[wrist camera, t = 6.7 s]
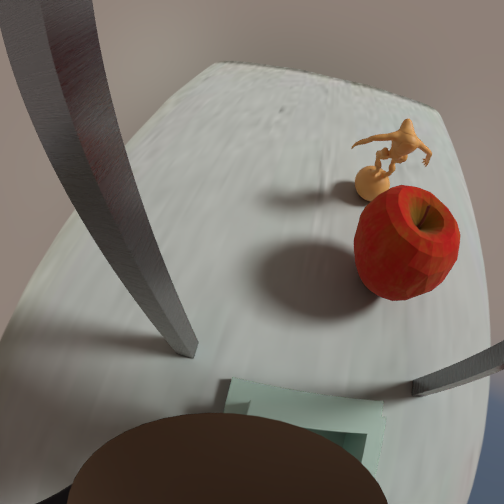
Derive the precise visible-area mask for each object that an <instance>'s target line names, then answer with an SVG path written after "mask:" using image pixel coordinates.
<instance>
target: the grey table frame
mask: <svg viewBox="0 0 504 504" xmlns="http://www.w3.org/2000/svg"><path fill="white" fill-rule="evenodd" d="M0 28H1V32H2V36H3V40H4V44H5V47H6V50H7V54H8V57H9V61H10V64H11V67H12V70H13V73H14V76H15V79H16V82H17V84H18V87H19V90H20V93H21V95H22V98H23V100H24V103H25V106H26V108H27V111H28V113H29V115H30V118H31V120H32V123H33V125H34V127H35V130H36V132H37V134H38V137H39V139H40V141H41V143H42V145H43V147H44V149H45V152H46V154H47V156H48V158H49V160H50V162H51V164H52V166H53V168H54V170H55V172H56V174H57V176H58V178H59V180H60V181H61V183H62V185H63V187H64V189H65V191H66V193H67V195H68V196H69V198H70V200H71V202H72V204H73V205H74V207H75V209H76V211H77V212H78V214H79V216H80V218H81V219H82V221H83V223H84V224H85V226H86V228H87V229H88V231H89V233H90V234H91V236H92V237H93V239H94V241H95V242H96V244H97V245H98V247H99V248H100V250H101V252H102V253H103V255H104V256H105V258H106V259H107V261H108V262H109V264H110V265H111V267H112V268H113V270H114V271H115V273H116V274H117V276H118V277H119V278H120V280H121V281H122V283H123V284H124V286H125V287H126V288H127V290H128V291H129V293H130V294H131V295H132V297H133V298H134V300H135V301H136V302H137V304H138V305H139V306H140V308H141V309H142V310H143V312H144V313H145V314H146V316H147V317H148V318H149V320H150V321H151V322H152V323H153V325H154V326H155V327H156V329H157V330H158V331H159V332H160V334H161V335H162V336H163V337H164V339H165V340H166V341H167V342H168V343H169V345H170V346H171V347H172V348H173V349H174V351H175V352H176V353H177V354H180V355H183V356H187V357H190V358H194V356H195V353H196V349H197V346H198V343H199V342H198V340H197V338H196V336H195V333H194V331H193V329H192V327H191V325H190V322H189V320H188V318H187V316H186V313H185V311H184V309H183V306H182V304H181V302H180V299H179V297H178V295H177V292H176V290H175V288H174V285H173V283H172V280H171V278H170V275H169V273H168V270H167V268H166V265H165V263H164V260H163V258H162V255H161V253H160V250H159V247H158V245H157V242H156V239H155V237H154V234H153V231H152V229H151V226H150V223H149V220H148V217H147V215H146V212H145V209H144V206H143V203H142V200H141V197H140V194H139V191H138V188H137V185H136V182H135V179H134V176H133V173H132V170H131V166H130V163H129V160H128V157H127V153H126V150H125V147H124V143H123V140H122V136H121V134H120V129H119V126H118V122H117V118H116V114H115V111H114V107H113V103H112V99H111V95H110V91H109V87H108V82H107V78H106V73H105V70H104V64H103V60H102V55H101V50H100V45H99V39H98V34H97V29H96V22H95V17H94V10H93V3H92V0H0ZM501 370H504V340H503V341H502V342H500V343H498V344H496V345H494V346H492V347H490V348H488V349H486V350H484V351H482V352H480V353H478V354H476V355H473V356H471V357H469V358H467V359H465V360H462V361H460V362H458V363H456V364H453V365H451V366H449V367H446V368H444V369H441V370H439V371H436V372H434V373H431V374H429V375H426V376H423V377H421V378H418V379H415V380H413V392H412V395H415V396H426V395H430V394H434V393H437V392H441V391H444V390H448V389H451V388H454V387H457V386H460V385H463V384H466V383H469V382H472V381H475V380H478V379H481V378H483V377H486V376H489V375H491V374H494V373H496V372H499V371H501Z"/></svg>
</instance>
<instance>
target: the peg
mask: <svg viewBox="0 0 504 504" xmlns="http://www.w3.org/2000/svg"><path fill="white" fill-rule="evenodd" d="M67 504H388V503H387V500H386V497H385V495H384V493H383V491H382V489H381V487H380V485H379V484H378V482H377V481H376V480H375V478H374V477H373V476H372V474H371V473H370V472H369V470H368V469H367V468H366V467H365V466H364V465H363V464H362V463H361V462H360V461H359V460H358V459H357V458H355V457H354V456H353V455H351V454H350V453H349V452H347V451H346V450H345V449H343V448H342V447H341V446H339V445H337V444H335V443H334V442H332V441H330V440H328V439H327V438H325V437H323V436H321V435H319V434H316V433H314V432H312V431H309V430H307V429H305V428H302V427H299V426H296V425H292V424H289V423H286V422H283V421H279V420H274V419H269V418H265V417H260V416H253V415H244V414H236V413H200V414H186V415H180V416H174V417H168V418H163V419H160V420H156V421H153V422H149V423H146V424H142V425H140V426H138V427H135V428H133V429H130V430H128V431H126V432H124V433H122V434H120V435H118V436H117V437H115V438H113V439H112V440H110V441H108V442H107V443H106V444H104V445H103V446H102V447H101V448H99V449H98V450H97V451H96V452H94V453H93V455H92V456H91V457H90V458H89V459H88V460H87V461H86V462H85V463H84V464H83V466H82V468H81V469H80V471H79V472H78V474H77V475H76V477H75V479H74V481H73V484H72V486H71V489H70V491H69V496H68V501H67Z"/></svg>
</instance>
